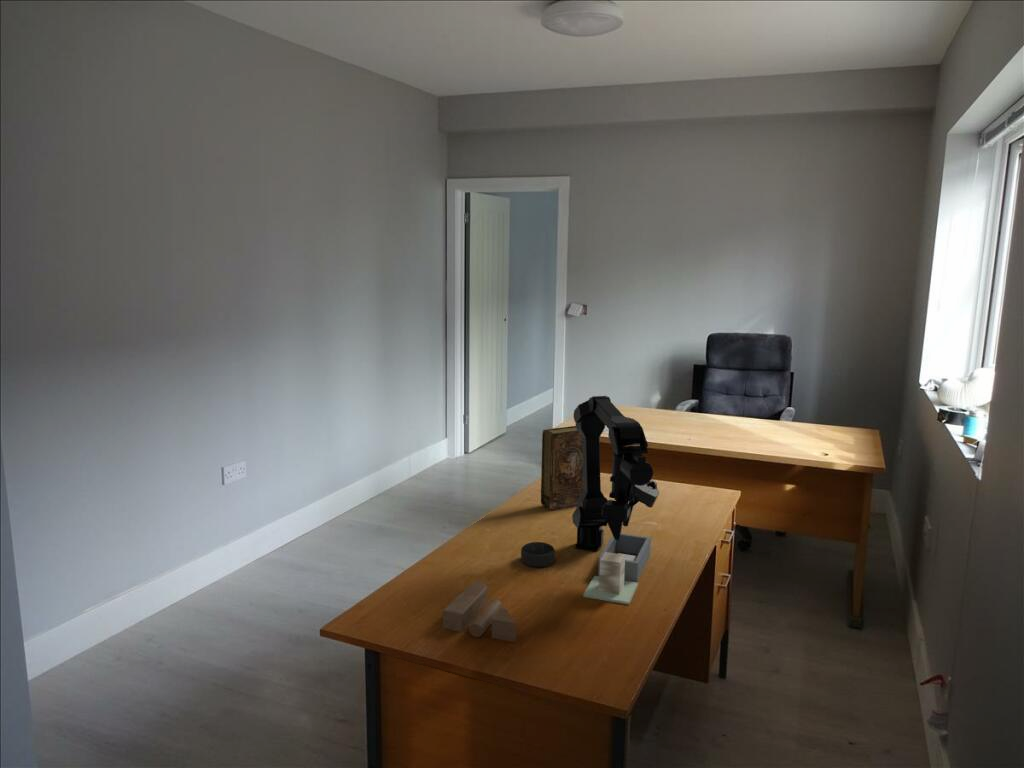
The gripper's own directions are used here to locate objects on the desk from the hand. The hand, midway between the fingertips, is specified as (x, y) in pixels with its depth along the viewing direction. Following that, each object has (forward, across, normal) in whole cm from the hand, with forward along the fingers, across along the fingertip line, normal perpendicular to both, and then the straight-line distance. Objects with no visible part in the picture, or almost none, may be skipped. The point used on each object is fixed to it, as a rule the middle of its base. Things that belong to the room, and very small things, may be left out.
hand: (621, 532), depth 188 cm
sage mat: (+12, -7, 0) cm, 14 cm away
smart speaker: (+13, +3, +23) cm, 26 cm away
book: (+14, +48, +28) cm, 57 cm away
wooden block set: (+13, -30, +22) cm, 39 cm away
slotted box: (+13, +9, +1) cm, 16 cm away
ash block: (+12, -6, 0) cm, 14 cm away
